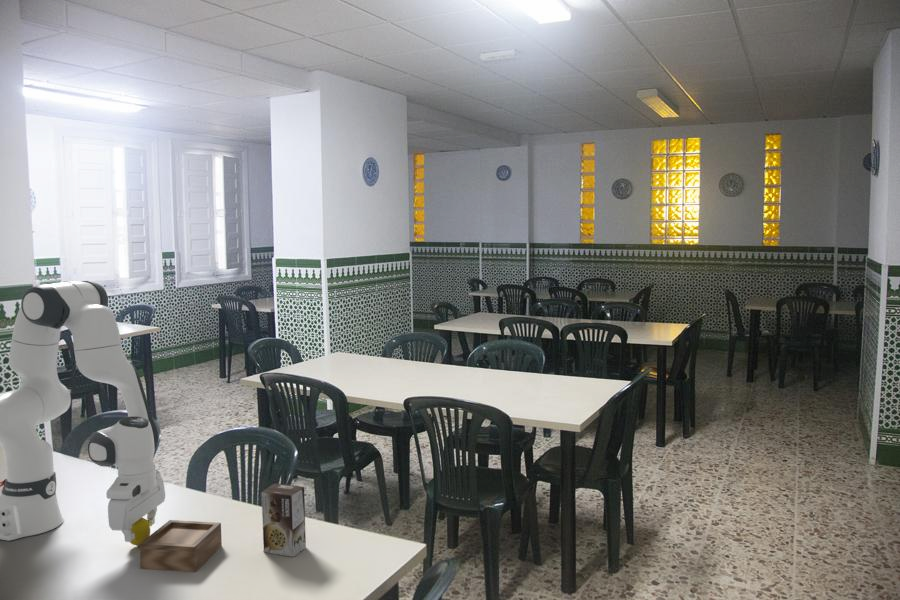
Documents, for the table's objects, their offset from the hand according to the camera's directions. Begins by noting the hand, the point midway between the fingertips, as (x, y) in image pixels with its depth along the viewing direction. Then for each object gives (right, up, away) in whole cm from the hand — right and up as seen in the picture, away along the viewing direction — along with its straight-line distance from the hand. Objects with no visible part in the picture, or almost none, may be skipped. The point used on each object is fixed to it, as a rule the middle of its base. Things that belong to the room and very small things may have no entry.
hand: (140, 532), depth 179 cm
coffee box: (+38, -4, -1) cm, 38 cm away
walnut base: (+13, -4, -5) cm, 15 cm away
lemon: (0, -4, 0) cm, 4 cm away
